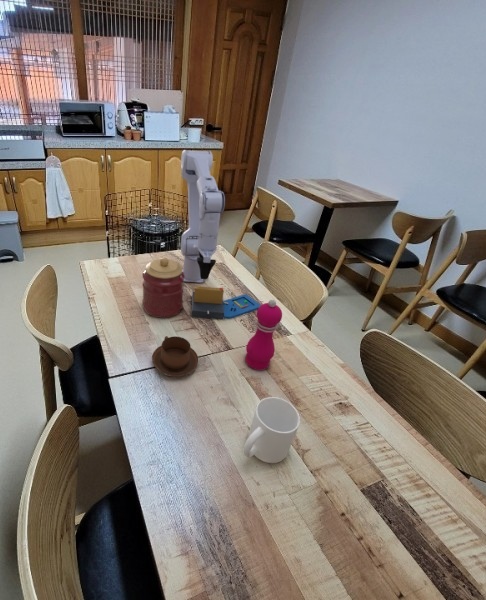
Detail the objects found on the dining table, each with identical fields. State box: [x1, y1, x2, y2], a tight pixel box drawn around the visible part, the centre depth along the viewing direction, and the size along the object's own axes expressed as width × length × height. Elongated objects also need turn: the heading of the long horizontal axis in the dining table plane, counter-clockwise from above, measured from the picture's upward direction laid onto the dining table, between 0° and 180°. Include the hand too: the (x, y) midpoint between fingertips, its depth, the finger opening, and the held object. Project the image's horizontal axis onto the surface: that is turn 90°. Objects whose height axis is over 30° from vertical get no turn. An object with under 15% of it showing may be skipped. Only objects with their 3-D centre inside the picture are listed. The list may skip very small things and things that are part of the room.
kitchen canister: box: [142, 256, 185, 319], centre depth 105 cm, size 13×13×18 cm
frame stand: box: [187, 291, 228, 320], centre depth 110 cm, size 13×13×3 cm
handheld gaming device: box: [223, 294, 262, 320], centre depth 112 cm, size 8×1×15 cm
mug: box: [242, 396, 301, 464], centre depth 67 cm, size 12×8×10 cm
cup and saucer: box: [151, 335, 199, 377], centre depth 87 cm, size 12×12×6 cm
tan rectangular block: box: [194, 285, 225, 304], centre depth 108 cm, size 9×2×5 cm, turn 87°
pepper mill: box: [245, 299, 283, 371], centre depth 85 cm, size 7×7×20 cm
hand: (203, 272), depth 109 cm, fingers open, 7 cm apart
